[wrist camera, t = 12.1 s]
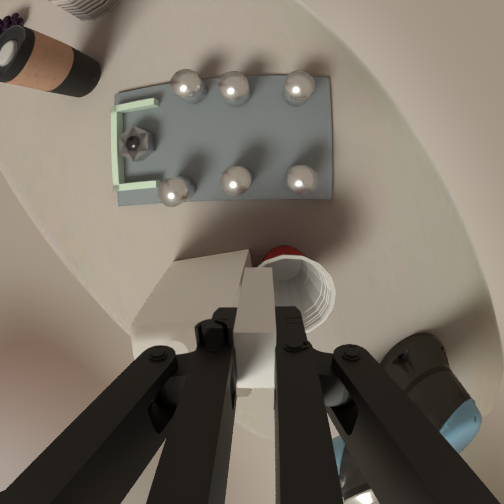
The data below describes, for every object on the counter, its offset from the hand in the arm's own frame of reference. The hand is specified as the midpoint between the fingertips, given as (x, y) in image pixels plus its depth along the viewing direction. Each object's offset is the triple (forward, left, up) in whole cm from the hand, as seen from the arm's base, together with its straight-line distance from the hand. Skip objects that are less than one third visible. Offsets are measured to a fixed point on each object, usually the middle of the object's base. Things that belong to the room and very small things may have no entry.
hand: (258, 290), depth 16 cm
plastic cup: (-8, -3, -27) cm, 28 cm away
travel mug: (+25, +29, -27) cm, 47 cm away
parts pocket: (+11, +18, -26) cm, 34 cm away
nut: (+11, +17, -26) cm, 33 cm away
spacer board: (+11, +6, -26) cm, 29 cm away
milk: (-12, +7, -27) cm, 30 cm away
